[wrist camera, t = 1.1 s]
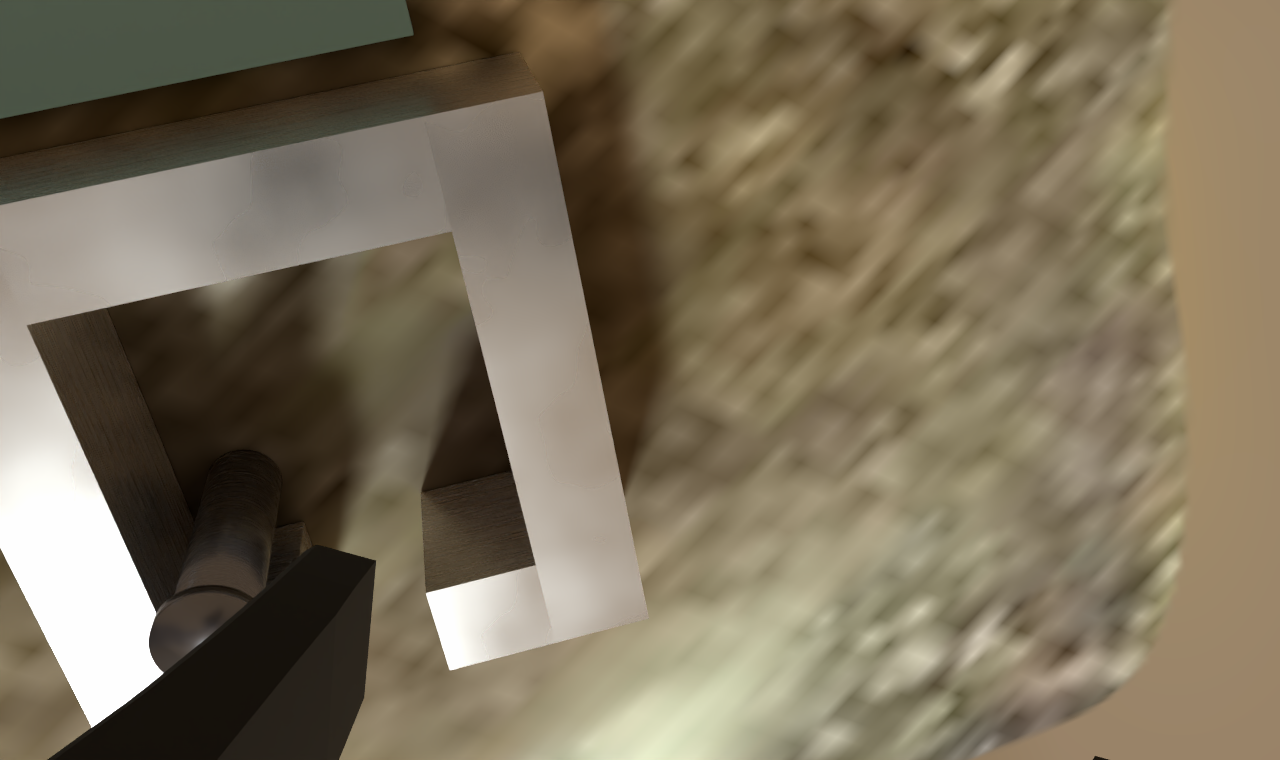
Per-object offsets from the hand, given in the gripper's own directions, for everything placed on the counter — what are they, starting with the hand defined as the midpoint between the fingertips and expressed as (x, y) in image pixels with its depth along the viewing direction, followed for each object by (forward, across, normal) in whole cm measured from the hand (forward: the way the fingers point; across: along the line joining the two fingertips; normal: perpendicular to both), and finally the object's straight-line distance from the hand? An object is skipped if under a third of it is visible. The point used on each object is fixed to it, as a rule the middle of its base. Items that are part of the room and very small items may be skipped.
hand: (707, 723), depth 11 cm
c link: (+9, +8, +4) cm, 13 cm away
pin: (+9, +9, +7) cm, 14 cm away
